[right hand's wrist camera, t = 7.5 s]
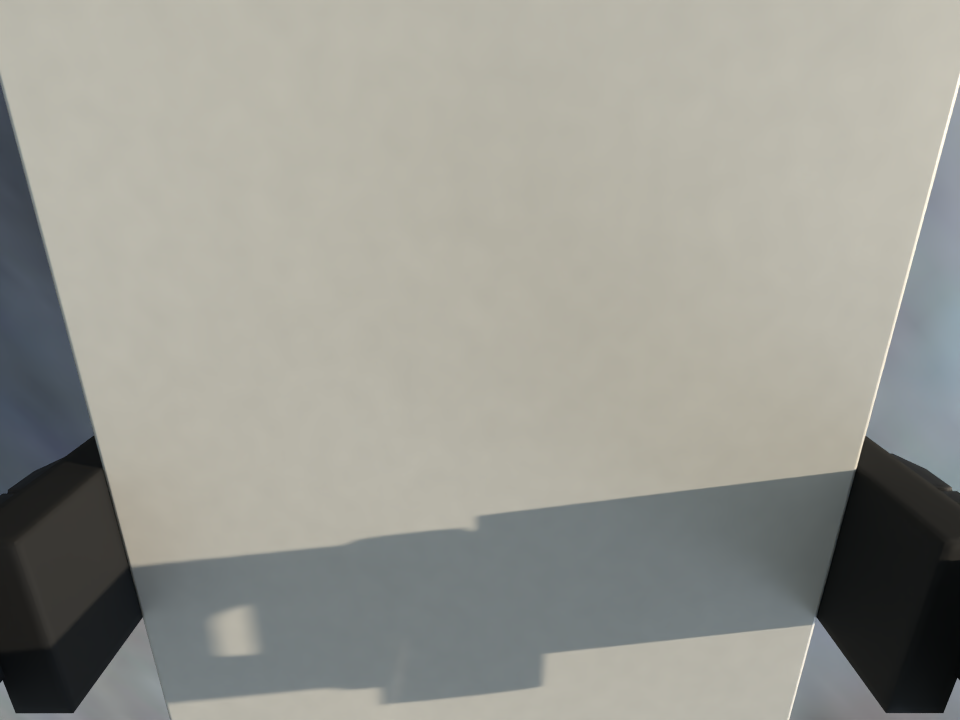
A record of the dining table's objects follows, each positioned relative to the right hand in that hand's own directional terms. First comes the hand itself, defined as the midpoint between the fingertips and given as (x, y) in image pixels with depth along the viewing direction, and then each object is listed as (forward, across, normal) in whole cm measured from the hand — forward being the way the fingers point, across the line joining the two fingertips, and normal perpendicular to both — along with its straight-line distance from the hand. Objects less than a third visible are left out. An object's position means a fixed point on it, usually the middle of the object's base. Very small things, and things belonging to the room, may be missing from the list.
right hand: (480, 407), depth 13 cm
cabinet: (+5, 0, -7) cm, 9 cm away
